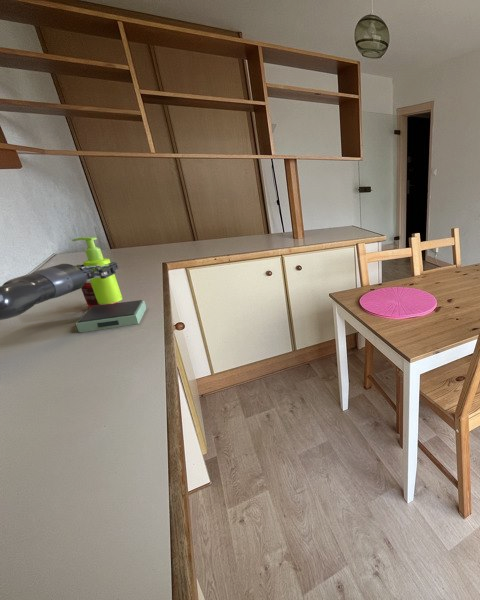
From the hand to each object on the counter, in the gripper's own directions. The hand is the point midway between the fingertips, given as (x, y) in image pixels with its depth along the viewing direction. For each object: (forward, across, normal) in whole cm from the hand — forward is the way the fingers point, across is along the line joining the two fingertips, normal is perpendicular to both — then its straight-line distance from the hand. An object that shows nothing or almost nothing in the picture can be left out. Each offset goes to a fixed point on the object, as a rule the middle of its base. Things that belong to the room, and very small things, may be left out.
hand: (104, 265), depth 97 cm
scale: (-2, 0, +17) cm, 18 cm away
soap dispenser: (-2, 0, +11) cm, 11 cm away
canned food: (+9, +11, +18) cm, 22 cm away
